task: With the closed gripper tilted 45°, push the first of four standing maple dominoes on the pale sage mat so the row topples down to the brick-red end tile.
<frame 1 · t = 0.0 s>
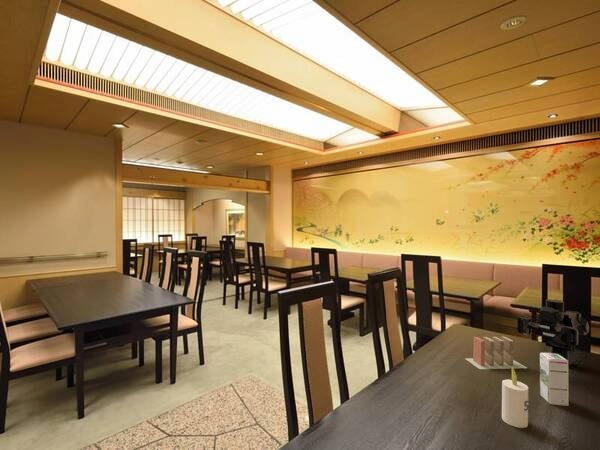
hand: (538, 334, 118), 17 cm above the table, tool horizontal, fingers open, 9 cm apart
domino 1: (506, 362, 132), resting on mat
syrup box: (553, 401, 104), on the table
domino 3: (488, 363, 131), resting on mat
candle: (514, 421, 93), on the table
domino 4: (478, 363, 131), resting on mat
domino 2: (497, 363, 131), resting on mat
mat: (495, 363, 131), on the table
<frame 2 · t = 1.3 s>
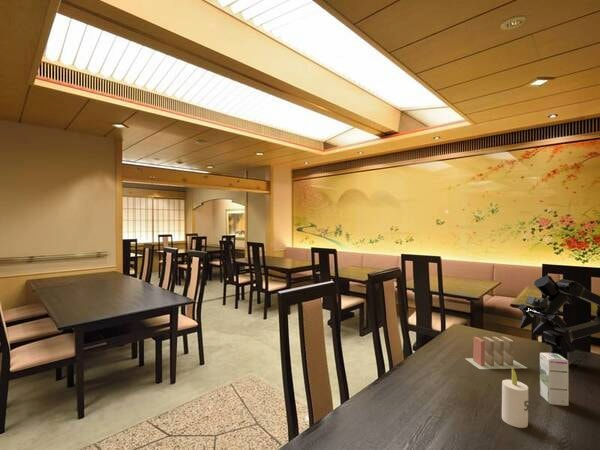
hand: (527, 330, 132), 14 cm above the table, tool tilted 45°, fingers open, 7 cm apart
nothing on the table moved.
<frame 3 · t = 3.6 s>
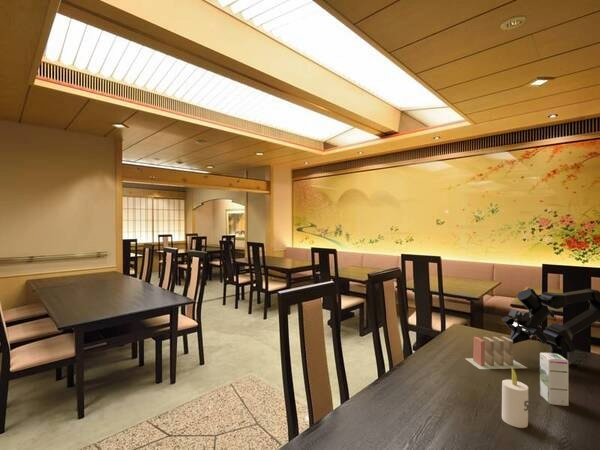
hand: (509, 343, 132), 8 cm above the table, tool tilted 45°, fingers closed, pressing on domino 1
domino 1: (506, 362, 132), resting on mat, touching gripper
everything else where it was.
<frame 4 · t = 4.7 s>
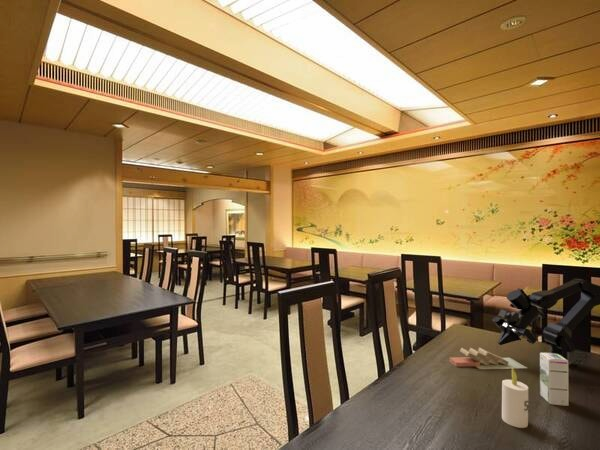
hand: (499, 344, 131), 8 cm above the table, tool tilted 45°, fingers closed
domino 1: (503, 361, 132), point 1 cm above the table, tilted 66°, touching domino 2, mat
domino 3: (485, 361, 131), point 1 cm above the table, tilted 66°, touching domino 2, domino 4, mat
domino 4: (476, 361, 131), point 1 cm above the table, tilted 90°, touching domino 3, mat
domino 2: (494, 361, 131), point 1 cm above the table, tilted 66°, touching domino 1, domino 3
everything else where it was.
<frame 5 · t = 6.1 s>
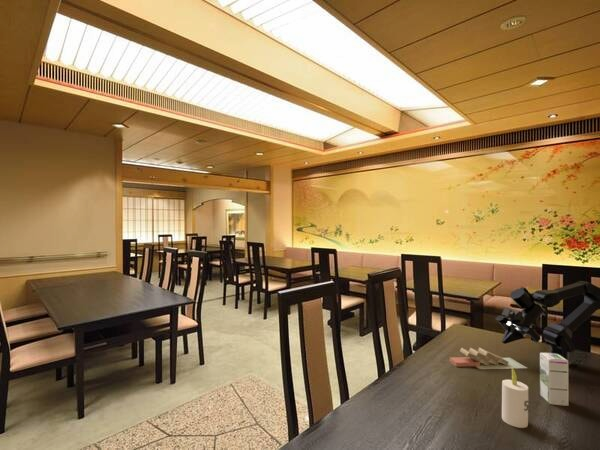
hand: (503, 342, 132), 9 cm above the table, tool tilted 45°, fingers closed
nothing on the table moved.
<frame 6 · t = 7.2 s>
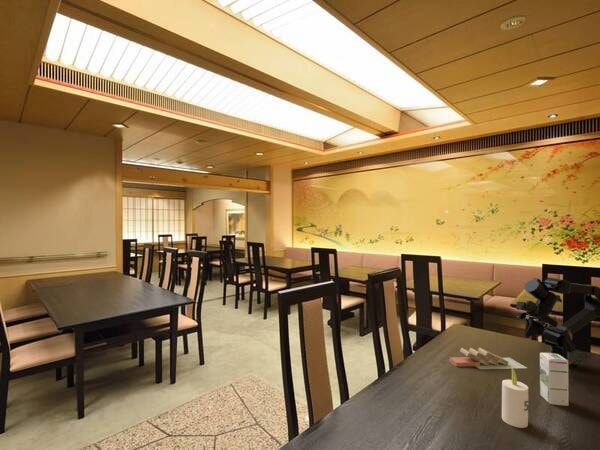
hand: (525, 337, 130), 12 cm above the table, tool tilted 35°, fingers closed
nothing on the table moved.
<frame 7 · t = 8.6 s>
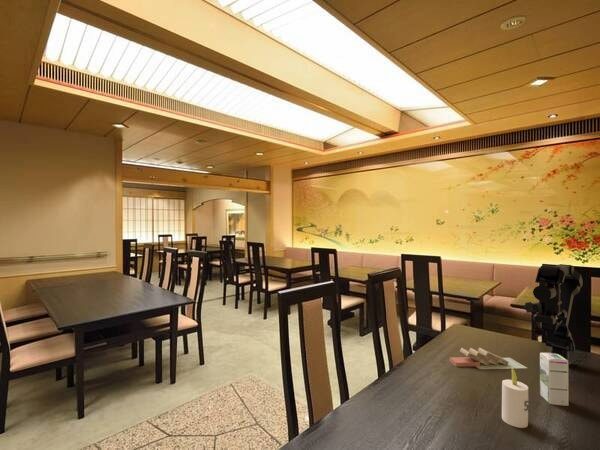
hand: (550, 337, 126), 13 cm above the table, tool pointing down, fingers closed
domino 2: (494, 361, 131), point 1 cm above the table, tilted 66°, touching domino 1, domino 3, mat
everything else where it was.
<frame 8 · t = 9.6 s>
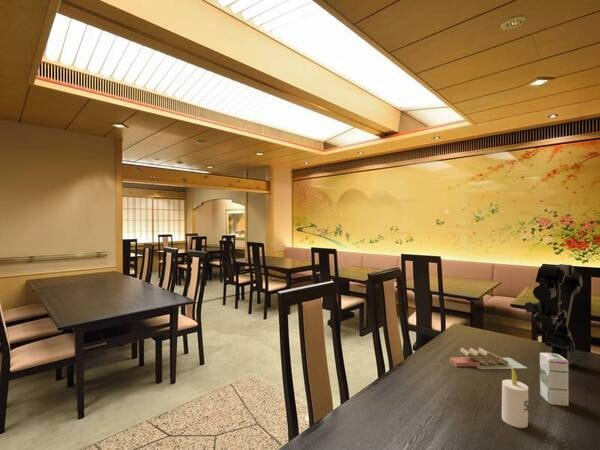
hand: (550, 337, 126), 13 cm above the table, tool pointing down, fingers closed
nothing on the table moved.
at the end: domino 4 tilted 90°; domino 1 tilted 66° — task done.
